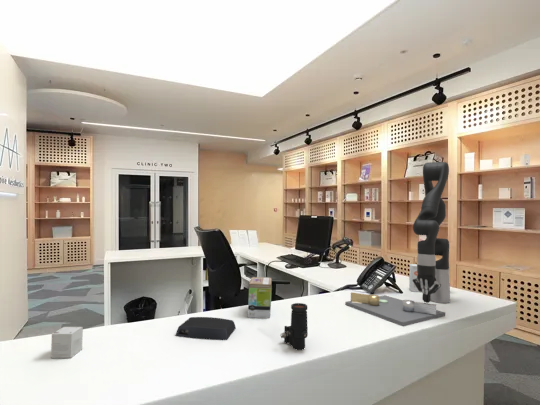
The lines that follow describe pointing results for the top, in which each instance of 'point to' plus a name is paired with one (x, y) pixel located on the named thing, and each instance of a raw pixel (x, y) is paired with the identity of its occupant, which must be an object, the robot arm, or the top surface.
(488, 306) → the top surface
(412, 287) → the skincare box
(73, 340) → the skincare box
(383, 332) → the top surface
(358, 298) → the brass door handle
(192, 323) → the external hard drive
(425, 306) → the chrome lever handle
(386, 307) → the board
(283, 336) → the scope
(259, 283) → the tea box
